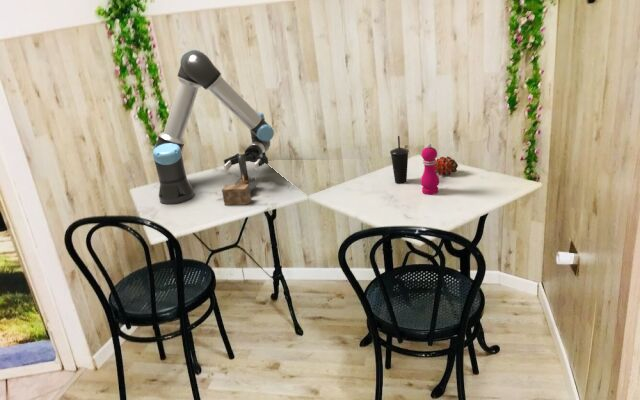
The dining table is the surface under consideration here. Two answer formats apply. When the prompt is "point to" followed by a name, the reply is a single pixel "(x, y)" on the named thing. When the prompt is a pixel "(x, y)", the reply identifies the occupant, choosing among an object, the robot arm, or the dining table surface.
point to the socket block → (236, 194)
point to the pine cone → (445, 166)
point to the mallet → (243, 170)
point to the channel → (250, 185)
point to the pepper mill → (429, 171)
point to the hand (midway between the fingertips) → (240, 167)
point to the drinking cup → (400, 163)
